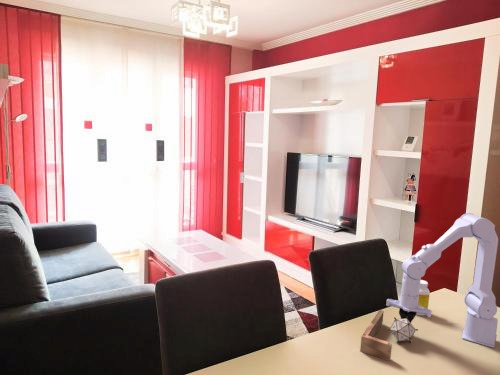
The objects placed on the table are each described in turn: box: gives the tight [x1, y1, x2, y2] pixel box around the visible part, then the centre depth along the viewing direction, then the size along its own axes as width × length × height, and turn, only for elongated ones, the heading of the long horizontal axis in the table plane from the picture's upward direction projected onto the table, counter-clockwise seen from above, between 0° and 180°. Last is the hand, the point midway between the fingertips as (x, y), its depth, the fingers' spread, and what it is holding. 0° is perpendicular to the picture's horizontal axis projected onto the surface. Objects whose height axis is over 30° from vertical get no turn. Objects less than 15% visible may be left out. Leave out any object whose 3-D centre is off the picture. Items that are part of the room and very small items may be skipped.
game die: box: [387, 316, 419, 344], centre depth 126 cm, size 9×8×10 cm
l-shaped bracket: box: [359, 309, 393, 362], centre depth 127 cm, size 9×24×5 cm, turn 148°
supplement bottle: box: [416, 279, 431, 317], centre depth 148 cm, size 7×7×13 cm
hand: (405, 329), depth 132 cm, fingers closed
